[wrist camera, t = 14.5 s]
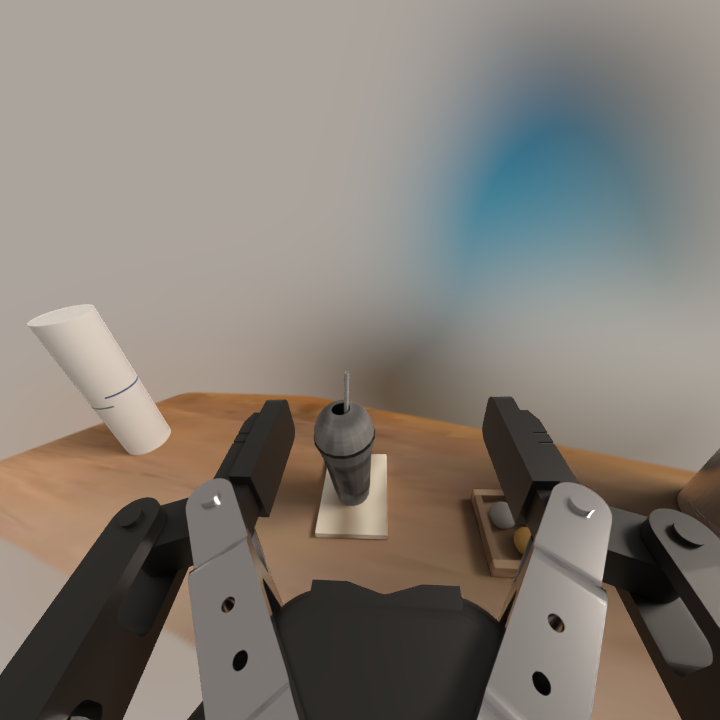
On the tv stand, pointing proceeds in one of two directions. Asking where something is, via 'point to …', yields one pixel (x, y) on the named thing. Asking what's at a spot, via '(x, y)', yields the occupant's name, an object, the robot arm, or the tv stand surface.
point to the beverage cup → (346, 447)
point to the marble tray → (499, 532)
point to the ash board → (356, 508)
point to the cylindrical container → (102, 375)
